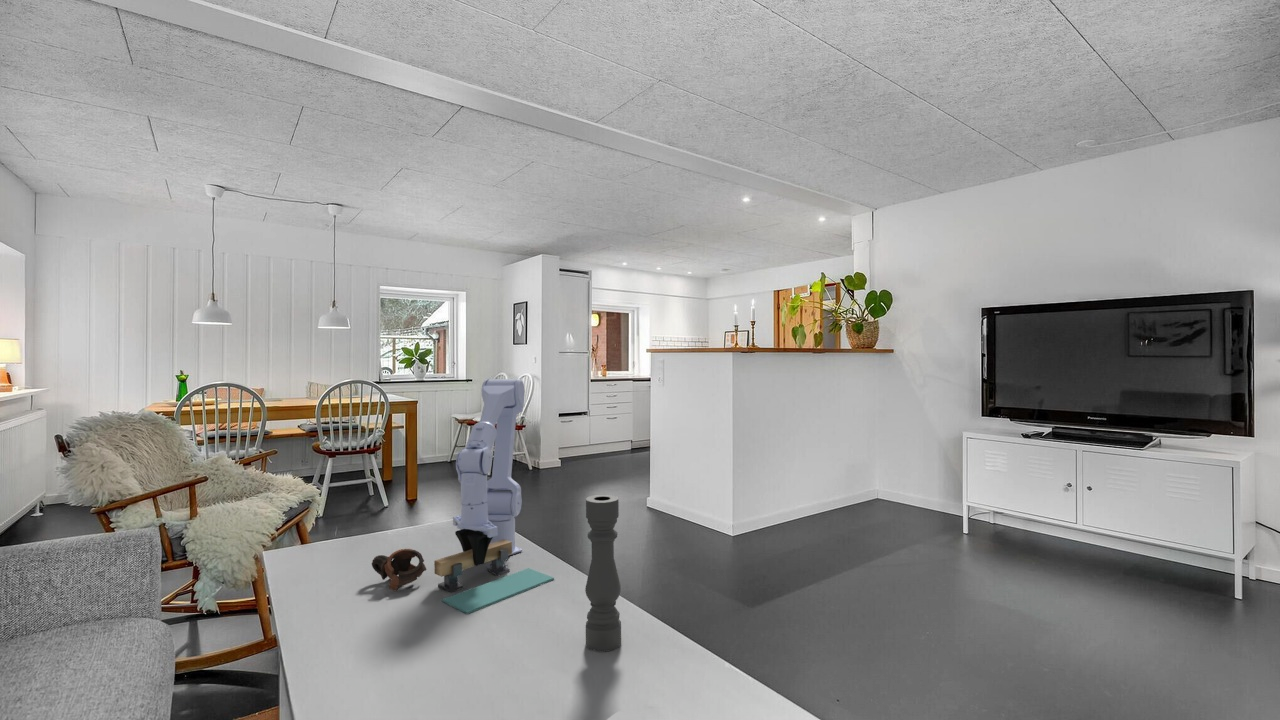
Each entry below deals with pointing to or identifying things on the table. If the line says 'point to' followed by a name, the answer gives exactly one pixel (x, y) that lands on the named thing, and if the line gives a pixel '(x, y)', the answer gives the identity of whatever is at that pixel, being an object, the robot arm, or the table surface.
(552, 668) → the table surface
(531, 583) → the teal mat
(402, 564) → the pottery mug
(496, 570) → the hook standards
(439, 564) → the oak bar
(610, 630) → the candle holder
